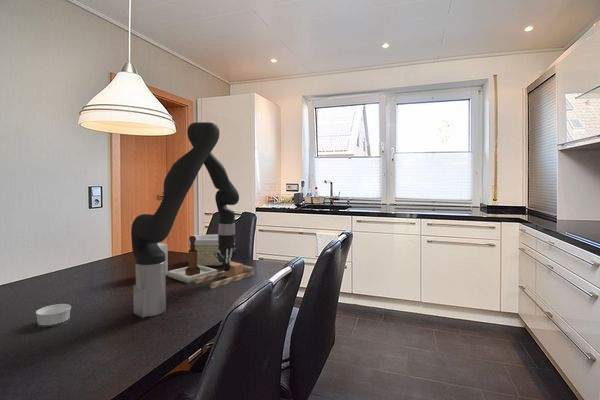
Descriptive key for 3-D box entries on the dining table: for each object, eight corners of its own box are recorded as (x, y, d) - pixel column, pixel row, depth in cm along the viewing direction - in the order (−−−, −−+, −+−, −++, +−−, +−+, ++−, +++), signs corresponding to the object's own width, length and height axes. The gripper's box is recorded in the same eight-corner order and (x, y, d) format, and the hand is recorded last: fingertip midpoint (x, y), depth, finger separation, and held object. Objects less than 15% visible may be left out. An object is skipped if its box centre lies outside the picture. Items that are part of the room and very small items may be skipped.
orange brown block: (235, 279, 149) (235, 266, 149) (224, 276, 153) (224, 263, 153) (243, 276, 153) (243, 264, 152) (233, 274, 157) (232, 261, 157)
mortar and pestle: (195, 276, 150) (195, 237, 149) (182, 275, 151) (182, 236, 150) (202, 272, 156) (202, 234, 155) (190, 271, 157) (189, 234, 156)
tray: (188, 283, 142) (188, 277, 142) (167, 276, 152) (167, 271, 152) (217, 275, 155) (217, 269, 155) (197, 269, 165) (197, 264, 165)
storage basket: (234, 258, 189) (234, 233, 188) (235, 265, 173) (235, 238, 172) (190, 260, 183) (190, 234, 182) (188, 268, 167) (187, 239, 167)
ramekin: (66, 314, 109) (66, 301, 109) (75, 321, 103) (74, 308, 103) (32, 322, 102) (32, 309, 102) (40, 331, 96) (39, 317, 96)
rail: (212, 288, 136) (212, 279, 135) (194, 283, 143) (194, 274, 143) (253, 275, 155) (253, 267, 155) (236, 271, 162) (236, 263, 162)
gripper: (220, 235, 141) (220, 275, 142) (243, 232, 152) (242, 269, 152) (209, 233, 145) (209, 272, 146) (232, 231, 156) (231, 266, 157)
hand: (226, 270), depth 149 cm, fingers closed
